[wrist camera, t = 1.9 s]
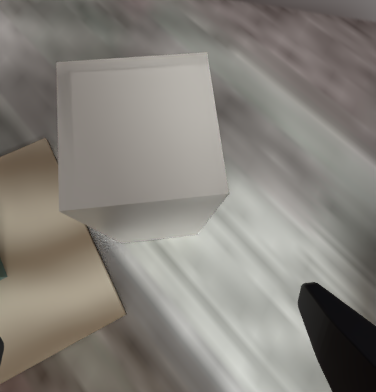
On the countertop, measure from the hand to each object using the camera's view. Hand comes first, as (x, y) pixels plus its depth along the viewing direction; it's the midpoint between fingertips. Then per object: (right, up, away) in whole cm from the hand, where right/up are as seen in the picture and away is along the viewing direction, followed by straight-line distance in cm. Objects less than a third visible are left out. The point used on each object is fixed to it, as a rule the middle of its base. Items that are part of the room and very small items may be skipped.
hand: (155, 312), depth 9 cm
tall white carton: (-1, +3, +13) cm, 13 cm away
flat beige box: (-13, -2, +11) cm, 17 cm away
